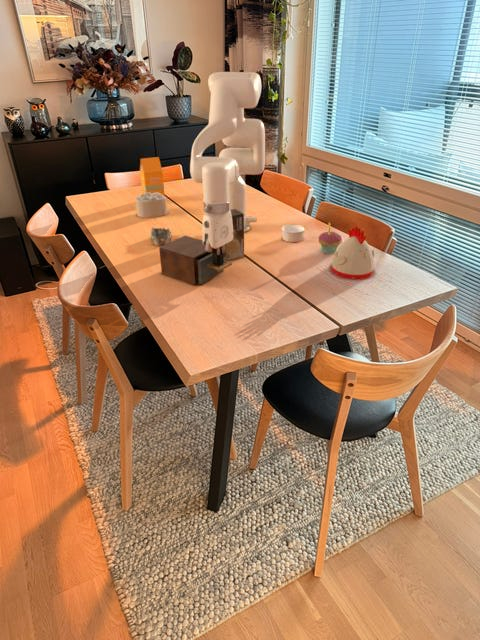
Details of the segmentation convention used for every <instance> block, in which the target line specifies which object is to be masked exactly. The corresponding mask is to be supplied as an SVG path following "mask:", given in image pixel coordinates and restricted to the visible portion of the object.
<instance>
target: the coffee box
mask: <svg viewBox="0 0 480 640" xmlns="http://www.w3.org/2000/svg"><path fill="white" fill-rule="evenodd" d="M230 211H231V215H232V221H233V240H232V241H230V242H229V243H227V244H226V246H225V252H224V261H227V262H228V261H231V260H235V259H240V258H244V257H245V232H244V214H243V213H242V212H240V211H238V210H236V209H232V210H230Z"/></svg>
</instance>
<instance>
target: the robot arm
mask: <svg viewBox="0 0 480 640" xmlns="http://www.w3.org/2000/svg"><path fill="white" fill-rule="evenodd" d="M207 85H208V90H209V93H210V100H209V114H208V124H207V125H206V126H205V127H204V128H203V129H202V130H201V131H200V132H199V134H198V135H197V137H196V138H194V141H193V143H192V146H191V152H190V162H189V174H190V178H191V179H192V180H193V182H195V183H196V184H197V183H198V184H202V201H203V214H202V215H203V216H202V223H201V224H202V225H201V226H202V227H201V237H202V238H201V240H203V245H204V246H205V251H206V252H211V253H212V258H213V264H214V265H217V266H221V265H223V264H225V263H224V252H225V246H226V244H227V243H229V242H230V241H232V240H233V221H232V215H231V211H230V210H232V209H236V210H238V211H240V212H242V213H243V214H244V233H246V232H248V231H249V230H250V228H251V225H250V224H251V223H257V222H258V218H257V217H256V216H254V217H252V216H247V185H246V182H245V180H244V179H243V177H242V176H241V175H251V176H253V175H255V176H256V175H261V174H262V173H264V170H265V167H266V166H265V165H266V128H265V125H264V122H263V121H262V120H261V119H258V118H245V109H254V108H256V107H257V106H258V103H259V100H260V98H261V94H262V79H261V76H260V74H259V73H257V72H253V71H219V72H218V71H217V72H213V73H211V74H210V75H209V76H208V79H207ZM219 141H222V143H223V144H224V145H225V146H227V147H226V148H224V149H222V150H221V151H220V152H219V154H218V156H203V154H204V152H205V150H206V149H207V148H208V147H210V146H211V145H213V144H215V143H218V142H219Z"/></svg>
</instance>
